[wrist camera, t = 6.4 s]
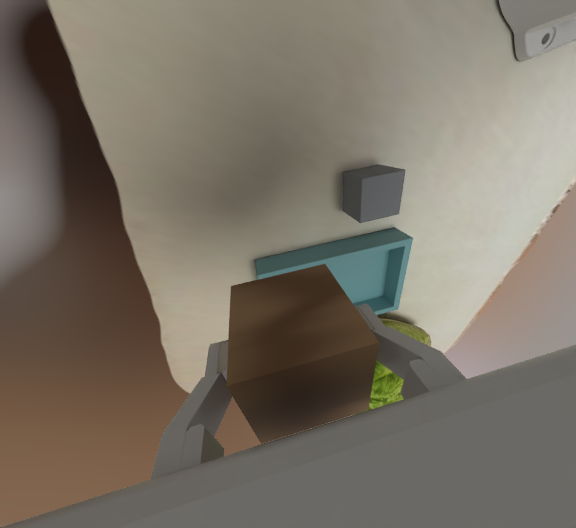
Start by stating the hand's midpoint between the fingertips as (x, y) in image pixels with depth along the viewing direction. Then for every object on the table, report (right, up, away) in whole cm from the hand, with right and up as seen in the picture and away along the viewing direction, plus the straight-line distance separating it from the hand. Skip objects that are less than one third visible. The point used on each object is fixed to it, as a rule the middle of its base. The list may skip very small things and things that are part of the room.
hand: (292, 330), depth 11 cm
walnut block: (0, +1, +1) cm, 2 cm away
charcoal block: (+9, +14, +17) cm, 24 cm away
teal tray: (+7, +1, +24) cm, 25 cm away
